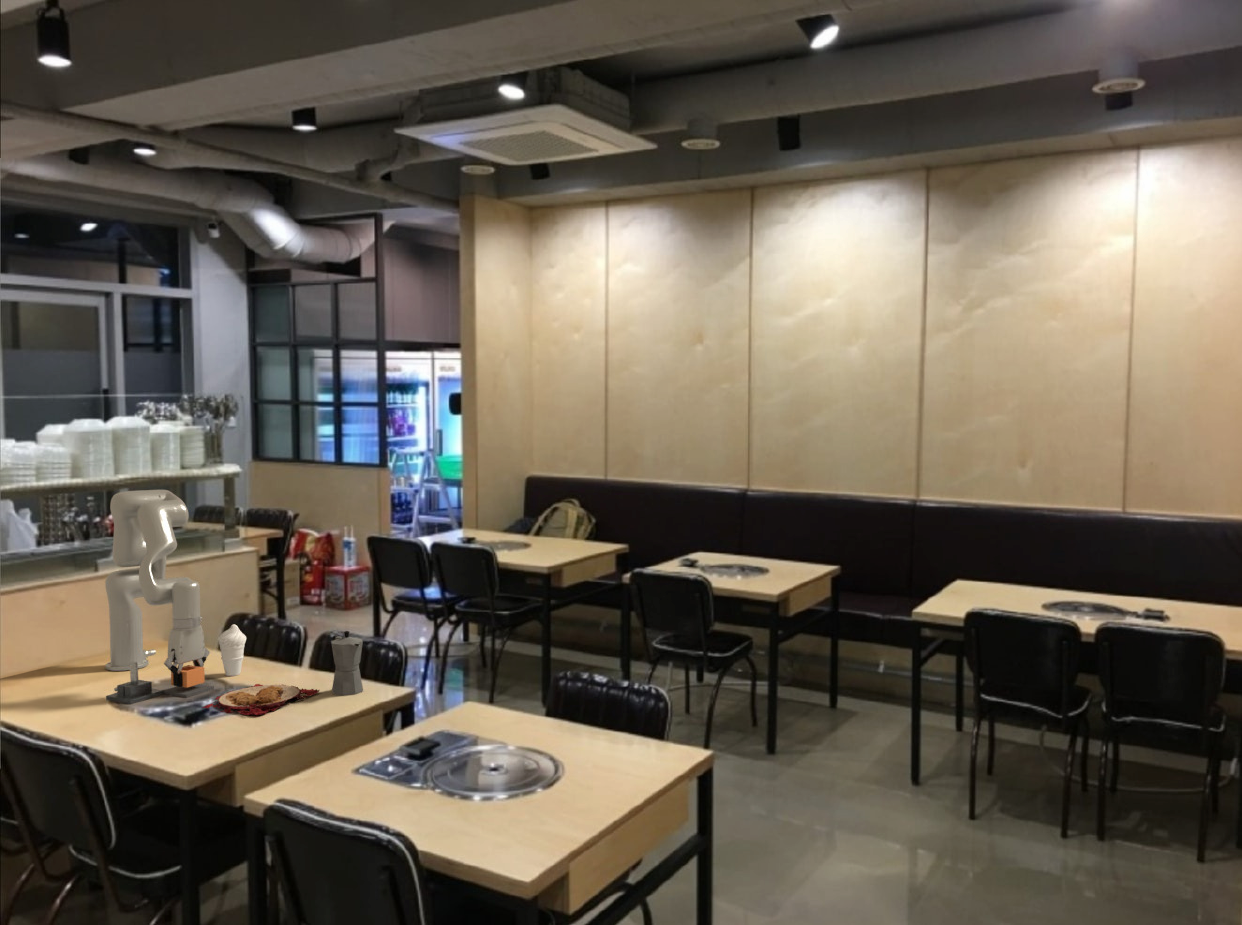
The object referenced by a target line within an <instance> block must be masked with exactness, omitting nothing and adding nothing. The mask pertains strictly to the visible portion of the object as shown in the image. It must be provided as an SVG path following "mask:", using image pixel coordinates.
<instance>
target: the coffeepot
mask: <svg viewBox="0 0 1242 925" xmlns="http://www.w3.org/2000/svg"><path fill="white" fill-rule="evenodd" d="M343 634H344V637H343V636H340V635H337V634H336V635H333V636H332V637H331V640H330V643H331V649H332V650H331V651H332V655H333V662H334V665H335V670H334V674H333V681H332V686H331V688H332V689H331V692H332V694H333V695H335V696H354V695H358V694H361V693H362V692H364V688H363V687H364V686H363V681H362V677H361V676H362V675H361V671H360V663H361V659H362V649H363V642H364V641H363V639H362V638H360V637H359V638H358V637H351V636H350V631H349V630H345V631H343Z"/></svg>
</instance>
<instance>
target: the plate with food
mask: <svg viewBox="0 0 1242 925" xmlns="http://www.w3.org/2000/svg"><path fill="white" fill-rule="evenodd" d="M319 692H320V689H317V688H316V689H314V688H311V689H306V688H299V687H298V686H297V687H296V685H295V686H293V685H291V686H290V685H287V684H268V685H266V684H265V685H264V684H260V683H256V684H254V685H253V686H252V685H251V686H249V687H243V688H240V689H236V690H229V691H228V692H225V693H224V694H223V693H222V695H220V696H216V698H215V699H214V700H215V701H212V700H211V701H210V702H211V703H209V704H205V705H204V706H202V707H201V708H202V709H203V708H204V709H210V708H211V707H212V708H213V709H215V708H218V710H217V712H218V711H219V709H220V710H221V709H224V710H221V711H220V713H226V714H234V713H235V711H234V710H236V712H237V713H239V714H240V715H243V716H250V715H251V716H253V715H255V716H259V715H260V716H261V715H266V714H267V713H268V712H275V711H277V709H280V708H282V707H285V706H286V705H287V706H290V705H291V703H290V702H287V701H288V700H290V699H293V698H296V699H297V700H296V701H295V703H296V702H300V701H305V700H306V699H307V698H308V697H311V696H314V695H316V694H317V693H319ZM285 702H287V703H285ZM214 703H215V704H214ZM247 709H249V711H248V710H247Z"/></svg>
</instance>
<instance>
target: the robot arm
mask: <svg viewBox="0 0 1242 925" xmlns="http://www.w3.org/2000/svg"><path fill="white" fill-rule="evenodd" d="M109 504H110V513H111V517H112V520H113V538H112V539H113V540H112V560H113V564H114V565H116V566H117V567H120V568H125V569H119V570H115V571H113V572H110V573H109V574H108V575H107V576H106V578H105V582H104V584H105V591H106V597H107V602H108V610H109V611H108V614H109V646H110V647H109V649H110V651H109V652H110V653H109V654H110V657H109V658H110V661H109V662H108V663H106V664H105V669H106V670H107V671H114V672H115V671H116V672H118V671H119V672H122V671H130V663H132V662H138V669H142V668H145V667H146V666H148V665H149V659H147V658H148V657H151V656H155V655H156V652H157V651H156V650H155V649H148V650H147V649H144V642H143V641H144V640H143V638H144V637H143V636H144V634H143V632H144V631H143V611H142V609H141V607H140V605H138V604H137V603H136V602H135V600H134V599H138V598H143V599H144V601H145V602H146V603H147V604H148V605H150V606H162V605H169V604H171V606H172V608H171V609H172V610H171V611H172V629H170V630H169V635H168V642H167V658H166V659H165V661H164V662H163V666H165V667H167V669H168V670H169V671H170V674H171V673H173V685H172V686H174V687H177V686H178V687H182V686H183V675H182V673H181V670H182V667H183V666H184V664H187V663H191V662H192V664H193V666H199V667H204V664H205V662H206V661H207V658H208V656H209V655H210V653H211V652H210V650H209V649H208V648H207V647H206V645H205V634H204V630H203V626H202V625H201V621H203V617H202V616H201V587H200V586H201V585H200V583H199V582H198V581H196V580H192V579H191V578H190V577H186V576H179V577H169V578H166V569H167V568H166V567H167V557H168V556H169V555H170V554H172V553H173V552H174V551H175V550H176V549H177V548H178V547H177V546H178V542H177V539H176V536H175V532H174V529H173V528H177V527H183V526H186V525H187V523H188V521H189V515H190V514H189V510H188V507H187V505H186V503H185V502H184V501H183V499H181V498H180V497H178V496H177V495H176V494H174V493H173V492H171V491H170V490H167V489H149V490H145V489H144V490H143V489H141V490H128V491H127V490H126V491H119V492H117V493H115V494H114V495H113V496H112V497H111V500H110V503H109ZM132 567H138V568H132ZM126 568H127V569H126Z"/></svg>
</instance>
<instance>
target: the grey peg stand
mask: <svg viewBox="0 0 1242 925" xmlns="http://www.w3.org/2000/svg"><path fill="white" fill-rule="evenodd" d="M129 671H130V673H129V674H130V681H127V682H125V683H121V684H118V685H116V687H114V689H113V691H115V693H111V694H108V695H105V701H110V702H116V703H120V704H121V703H122V704H123V703H124V704H127V705H132V704H136V703H139V702H141V701H142V702H143V701H145V700H149V699H152V698H155V697H159V696H161V695H164V694H163V690H162V689H157V688H153V686H152V681H149V680H143V679H139V668H138V662H132V663H130V670H129Z"/></svg>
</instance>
